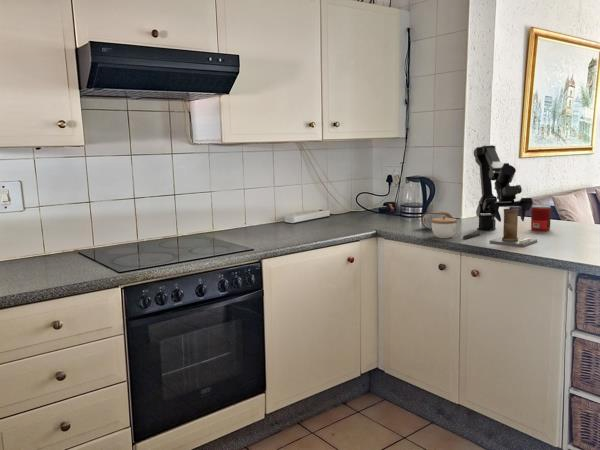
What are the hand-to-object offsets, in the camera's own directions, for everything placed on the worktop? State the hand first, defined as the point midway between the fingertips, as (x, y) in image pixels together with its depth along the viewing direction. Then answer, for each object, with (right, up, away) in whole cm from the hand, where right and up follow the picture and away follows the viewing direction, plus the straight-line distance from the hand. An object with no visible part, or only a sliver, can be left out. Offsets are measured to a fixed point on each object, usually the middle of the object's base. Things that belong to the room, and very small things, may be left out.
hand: (511, 221), depth 214 cm
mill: (0, -8, +3) cm, 8 cm away
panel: (+2, -9, +3) cm, 9 cm away
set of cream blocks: (+4, -8, -2) cm, 10 cm away
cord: (-11, -7, +17) cm, 21 cm away
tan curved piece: (-20, -4, +40) cm, 45 cm away
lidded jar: (-22, -7, +20) cm, 31 cm away
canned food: (+25, -4, +30) cm, 39 cm away
